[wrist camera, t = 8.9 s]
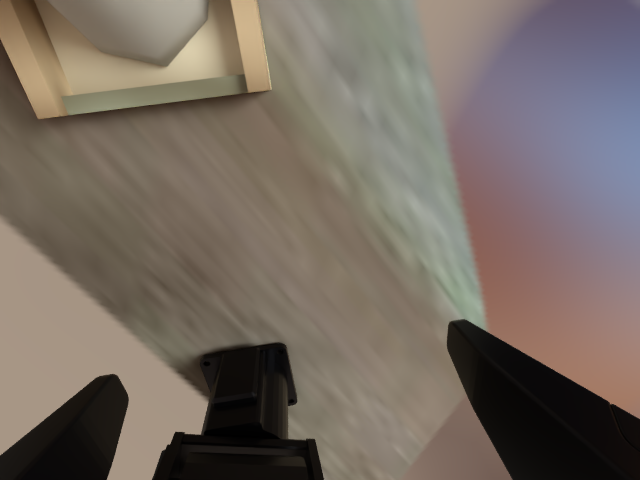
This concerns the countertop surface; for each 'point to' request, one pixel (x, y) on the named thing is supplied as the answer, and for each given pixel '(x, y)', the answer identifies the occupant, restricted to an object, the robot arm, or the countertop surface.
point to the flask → (136, 25)
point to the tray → (130, 61)
